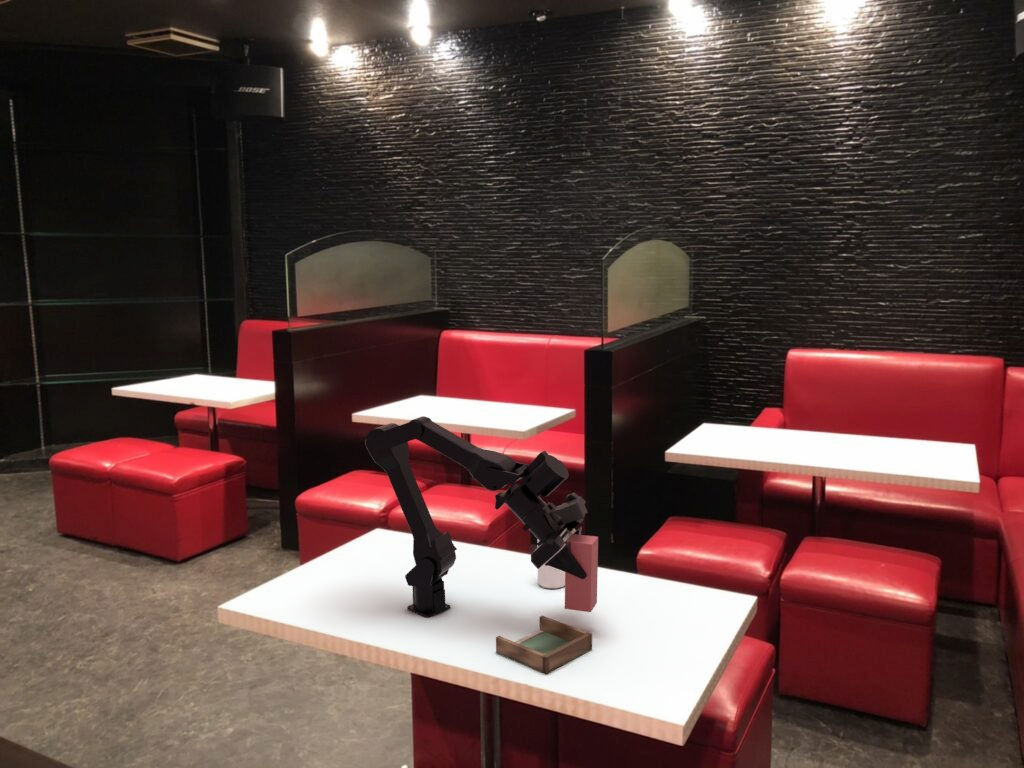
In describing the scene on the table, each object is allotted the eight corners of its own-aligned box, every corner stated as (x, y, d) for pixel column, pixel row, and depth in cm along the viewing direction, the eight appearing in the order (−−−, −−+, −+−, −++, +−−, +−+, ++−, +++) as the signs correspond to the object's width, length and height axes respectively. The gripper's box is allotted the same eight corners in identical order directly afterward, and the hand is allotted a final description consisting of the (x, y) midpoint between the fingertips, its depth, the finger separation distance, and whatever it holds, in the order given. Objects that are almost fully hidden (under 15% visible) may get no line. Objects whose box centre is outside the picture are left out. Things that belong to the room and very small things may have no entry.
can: (565, 590, 181) (564, 536, 179) (535, 588, 182) (534, 535, 180) (569, 579, 187) (568, 527, 185) (540, 577, 188) (539, 525, 187)
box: (496, 652, 152) (495, 637, 152) (542, 630, 161) (542, 615, 161) (546, 674, 144) (546, 657, 144) (591, 649, 153) (591, 633, 153)
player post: (564, 608, 158) (565, 541, 156) (571, 599, 163) (572, 534, 161) (590, 612, 156) (591, 544, 155) (596, 602, 161) (598, 536, 160)
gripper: (547, 496, 149) (608, 563, 147) (573, 472, 166) (628, 531, 165) (505, 535, 152) (565, 601, 151) (535, 507, 170) (588, 565, 168)
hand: (588, 572), depth 158 cm, fingers closed on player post, 5 cm apart
